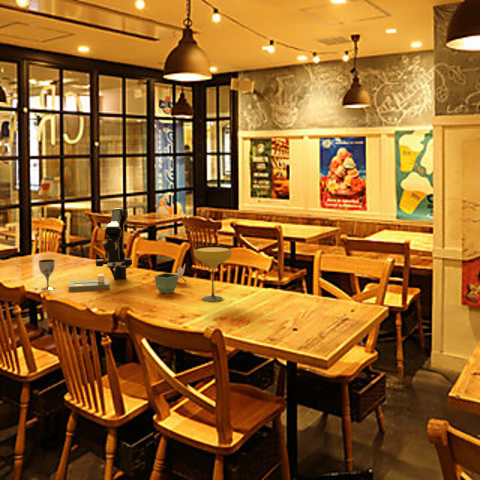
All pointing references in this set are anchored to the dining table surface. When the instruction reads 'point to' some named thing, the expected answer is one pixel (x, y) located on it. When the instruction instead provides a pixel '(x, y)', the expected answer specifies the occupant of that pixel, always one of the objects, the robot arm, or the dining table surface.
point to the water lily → (180, 273)
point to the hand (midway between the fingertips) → (114, 278)
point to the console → (88, 285)
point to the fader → (100, 278)
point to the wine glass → (47, 270)
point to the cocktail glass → (212, 262)
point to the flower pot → (166, 282)
